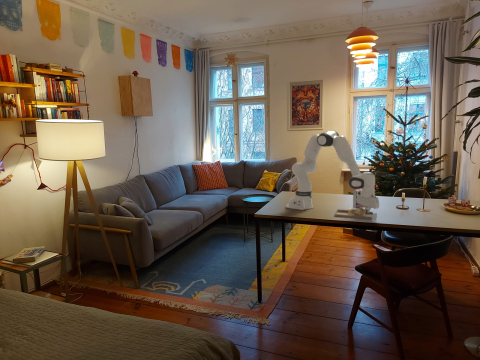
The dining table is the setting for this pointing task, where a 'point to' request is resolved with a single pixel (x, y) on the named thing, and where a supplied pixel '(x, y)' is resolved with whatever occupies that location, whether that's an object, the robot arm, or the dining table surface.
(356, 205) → the candy bar box
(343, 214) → the mat
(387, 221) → the dining table surface
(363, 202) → the robot arm
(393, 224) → the dining table surface
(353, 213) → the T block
